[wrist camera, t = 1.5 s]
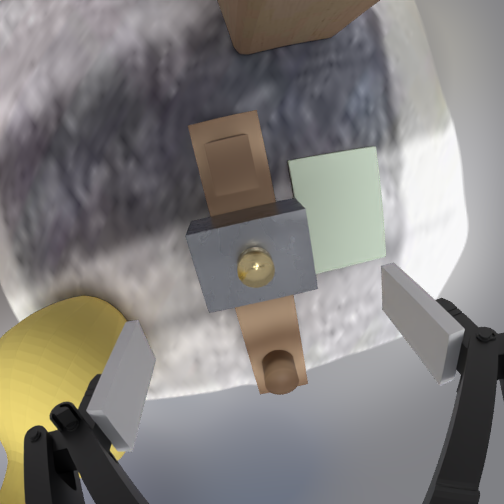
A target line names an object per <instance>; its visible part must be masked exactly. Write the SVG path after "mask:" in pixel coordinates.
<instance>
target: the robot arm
mask: <svg viewBox="0 0 504 504" xmlns="http://www.w3.org/2000/svg"><path fill="white" fill-rule="evenodd" d="M381 274H382V310H383V311H384V312H385V314H386V315H387V316H388V317H389V319H390V320H391V321H392V322H393V324H394V325H395V326H396V328H397V329H398V330H399V332H400V333H401V334H402V335H403V337H404V338H405V339H406V341H407V342H408V343H409V345H410V346H411V347H412V349H413V350H414V351H415V353H416V354H417V355H418V357H419V358H420V359H421V361H422V362H423V363H424V365H425V366H426V367H427V369H428V370H429V372H430V373H431V374H432V376H433V377H434V379H435V380H436V381H437V383H438V384H439V386H441V385H443V384H445V383H448V382H450V381H452V380H454V378H455V373H456V369H457V371H458V372H459V373H460V374H461V377H460V381H459V385H458V388H457V396H456V400H455V404H454V409H453V413H452V417H451V421H450V424H449V428H448V432H447V435H446V439H445V442H444V445H443V448H442V452H441V455H440V458H439V461H438V464H437V467H436V470H435V472H434V475H433V478H432V481H431V484H430V486H429V488H428V491H427V494H426V497H425V499H424V501H423V503H422V504H478V502H479V498H480V491H479V490H478V487H479V483H480V479H481V475H482V471H483V467H484V463H485V458H486V453H487V448H488V443H489V438H490V432H491V426H492V419H493V412H494V404H495V395H496V384H497V380H500V385H501V390H502V395H503V400H504V333H500V334H497V333H496V332H495V331H494V330H492V329H491V328H487V327H477V326H476V325H475V324H474V323H473V322H472V321H471V320H470V319H469V318H468V317H467V316H466V315H465V314H464V313H462V311H460V310H459V309H457V307H456V306H455V305H454V304H453V303H452V302H450V301H448V300H446V299H443V298H440V299H437V300H434V299H433V298H432V297H431V296H430V295H429V294H428V293H427V292H426V291H425V290H424V289H423V288H421V287H420V286H419V285H418V284H417V283H416V282H415V281H414V280H413V279H412V278H410V277H409V276H408V275H407V274H406V273H405V272H404V271H403V270H402V269H400V268H399V267H398V266H397V265H396V264H395V263H390V264H386V265H383V266H381ZM155 361H156V358H155V356H154V354H153V352H152V350H151V348H150V345H149V343H148V341H147V339H146V337H145V334H144V332H143V330H142V327H141V325H140V323H139V321H138V320H134V321H129V322H126V323H125V325H124V327H123V329H122V331H121V333H120V335H119V337H118V339H117V342H116V344H115V346H114V348H113V350H112V352H111V355H110V357H109V359H108V361H107V363H106V366H105V368H104V370H103V372H102V374H97V375H96V376H95V377H94V378H93V379H92V380H91V381H90V383H89V385H88V387H87V390H86V392H85V394H84V396H83V399H82V401H81V403H80V405H79V408H78V409H77V408H76V407H75V405H74V404H73V403H72V402H62V403H60V404H58V405H56V406H55V407H54V408H53V409H52V411H51V413H50V415H49V416H50V420H51V422H52V423H53V424H54V425H55V427H56V428H57V429H58V430H55V431H51V432H48V431H47V430H46V429H45V428H44V427H43V426H41V425H37V426H34V427H32V428H30V429H29V430H28V431H27V433H26V434H25V437H24V493H25V504H85V501H84V497H83V492H82V488H81V483H80V477H79V474H80V476H81V478H82V480H83V482H84V484H85V485H86V487H87V489H88V491H89V493H90V495H91V496H92V498H93V500H94V502H95V503H96V504H149V503H148V502H147V500H146V499H145V498H144V497H143V495H142V494H141V493H140V491H139V490H138V489H137V488H136V486H135V485H134V484H133V482H132V481H131V479H130V478H129V477H128V475H127V474H126V473H125V471H124V470H123V468H122V467H121V465H120V464H119V463H118V461H117V460H116V458H115V457H114V455H113V454H112V453H111V452H110V448H111V444H112V445H113V446H114V447H115V449H116V450H117V451H120V452H129V451H133V449H134V445H135V441H136V436H137V432H138V428H139V424H140V419H141V415H142V411H143V407H144V403H145V399H146V395H147V391H148V387H149V384H150V380H151V376H152V372H153V369H154V365H155Z"/></svg>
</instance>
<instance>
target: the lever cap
mask: <svg viewBox="0 0 504 504" xmlns="http://www.w3.org/2000/svg"><path fill="white" fill-rule="evenodd" d="M186 239H187V243H188V246H189V249H190V253H191V256H192V259H193V263H194V266H195V269H196V273H197V276H198V279H199V282H200V285H201V289H202V292H203V295H204V298H205V301H206V304H207V307H208V311H209V313H211V312H216V311H221V310H226V309H230V308H235V307H240V306H245V305H249V304H254V303H258V302H263V301H268V300H272V299H276V298H281V297H285V296H290V295H294V294H298V293H302V292H307V291H311V290H315V289H318V287H317V280H316V273H315V266H314V259H313V252H312V246H311V239H310V233H309V226H308V220H307V214H306V209H305V208H304V207H303V206H302V205H301V203H300V202H299V201H298V200H297V199H296V198H292V199H287V200H283V201H278V202H273V203H269V204H264V205H260V206H255V207H250V208H246V209H242V210H237V211H233V212H228V213H224V214H220V215H215V216H211V217H207V218H203V219H199V220H194V221H191V223H190V226H189V228H188V231H187V233H186Z"/></svg>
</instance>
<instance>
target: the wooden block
mask: <svg viewBox="0 0 504 504" xmlns="http://www.w3.org/2000/svg"><path fill="white" fill-rule="evenodd" d="M217 1H218V4H219V6H220V9H221V12H222V15H223V17H224V20H225V23H226V26H227V29H228V31H229V34H230V37H231V40H232V43H233V46H234V48H235V49H236V50H237V51H238V52H239V54H252V53H256V52H260V51H264V50H269V49H273V48H278V47H282V46H287V45H292V44H297V43H302V42H307V41H313V40H319V39H325V38H331V37H332V36H334V35H336V34H337V33H338V32H339V31H341V30H342V29H343V28H344V27H346V26H347V25H348V24H349V23H351V22H352V21H353V20H355V19H356V18H357V17H358V16H360V15H361V14H362V13H364V12H365V11H366V10H368V9H369V8H370V7H372V6H373V5H374V4H376V3H377V2H378V1H380V0H217Z"/></svg>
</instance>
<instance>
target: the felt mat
mask: <svg viewBox="0 0 504 504" xmlns="http://www.w3.org/2000/svg"><path fill="white" fill-rule="evenodd" d="M287 162H288V167H289V172H290V177H291V183H292V188H293V193H294V198H296V199H297V200H298V201H299V202H300V203H301V205H302V206H303V207H304V208H305V209H306V214H307V220H308V226H309V233H310V239H311V246H312V252H313V259H314V266H315V273H316V274H318V273H322V272H326V271H331V270H335V269H339V268H343V267H347V266H351V265H355V264H359V263H363V262H367V261H371V260H375V259H379V258H383V257H386V250H385V232H384V218H383V206H382V195H381V186H380V177H379V168H378V161H377V153H376V147H375V146H371V147H364V148H358V149H351V150H345V151H339V152H333V153H327V154H321V155H315V156H310V157H304V158H299V159H293V160H288V161H287Z"/></svg>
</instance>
